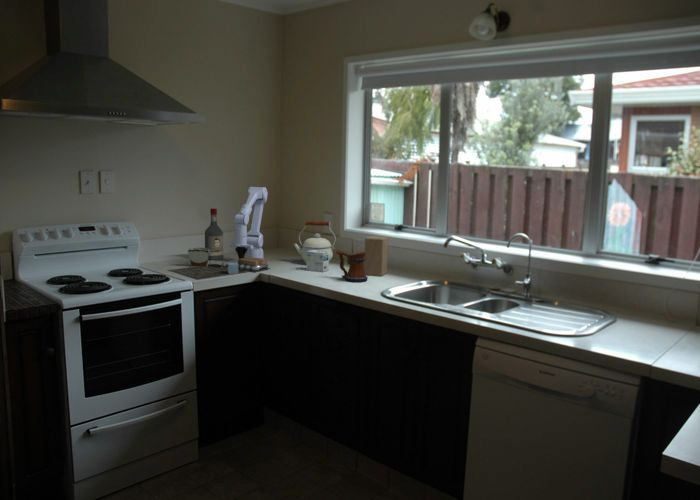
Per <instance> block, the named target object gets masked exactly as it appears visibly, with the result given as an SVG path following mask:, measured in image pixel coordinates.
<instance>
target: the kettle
mask: <svg viewBox="0 0 700 500" xmlns="http://www.w3.org/2000/svg"><path fill="white" fill-rule="evenodd" d="M307 226H320V227H322V226H323V227H324V226H326V227H328V228H329V231H330V232H331V233H332V235H333V236H334V241H333V244H331V242H330V240H329V239H327V238H324V237H321V234H320V233H318V232H317V233H315V234H314V235H313V237H310V238H307V239H306V240H304V241H303V244H302V241H301V234H302V233H303V232H304V231H305V229H306V228H307ZM298 240H299V244H300V245H298V244H297V243H293V246H294V247H295V249H296V252H297V253H298V254H299V255H300V256H301V258H302V260H303V261H304V264H305V265H307V251H310V250H319V251H329V262H330V261H331V260H332V258H333V255H334V254H333V250H334V249H335V247H334V246H335V243H336V241H337V237H336V235H335V233H334V231H332V229H331V221H324V220H323V221H319V220H318V221H317V220H315V221H314V220H304V228H302V230H301V231H300V233H299V235H298Z"/></svg>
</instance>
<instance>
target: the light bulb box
mask: <svg viewBox="0 0 700 500" xmlns="http://www.w3.org/2000/svg"><path fill="white" fill-rule="evenodd" d="M329 267H330V261H329V251H319V250H310V251H307V264H306V271H309V272H310V271H311V272H322V273H324V272H327V271H329V270H330V269H329Z"/></svg>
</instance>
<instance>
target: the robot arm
mask: <svg viewBox="0 0 700 500" xmlns="http://www.w3.org/2000/svg"><path fill="white" fill-rule="evenodd" d="M268 194H269V193H268V190H267V188H266V186H264V187H261V186H260V187H259V186H250V187H249V188H248V190H247V195H248V196H247V199H246V202H245V204H243V205H242V206H241V207H240V210H239V212H238V213H237V214H236V215H235V216H234V219H233V223H234V228H235V242H229V247H231V248H232V247H234V249H235V252H236V253H237V254H236V255H237V256H238V259H242V258H245V256H246V257H255V258H262V259H264V250H263V248H262V247H263V245H264V235H263V234H262V233H261V232H260V228H261V225H262V224H261V223H262V217H263V212H264V211H263V210H264V205H265V204H266V203H267V200H268ZM253 205H254V209H253V208H252V207H253ZM252 211H253V215H252V220H251V226H250V230H249V231H248V228H247V226H248V224H249V221H250V215H251V213H252Z"/></svg>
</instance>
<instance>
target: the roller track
mask: <svg viewBox="0 0 700 500" xmlns="http://www.w3.org/2000/svg"><path fill="white" fill-rule="evenodd" d="M228 263H238V259H233V260H229V261H224V262H222V263H221V266H219V268H221V269H227V270H228ZM270 269H271V268H270V267H269V264H268V263H267V264H263V265H259V266H250V265H243V264H238V271H242V272H247V273H248V272H249V273H254V274H255V273H259V272H263V271H267V270H270Z"/></svg>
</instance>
